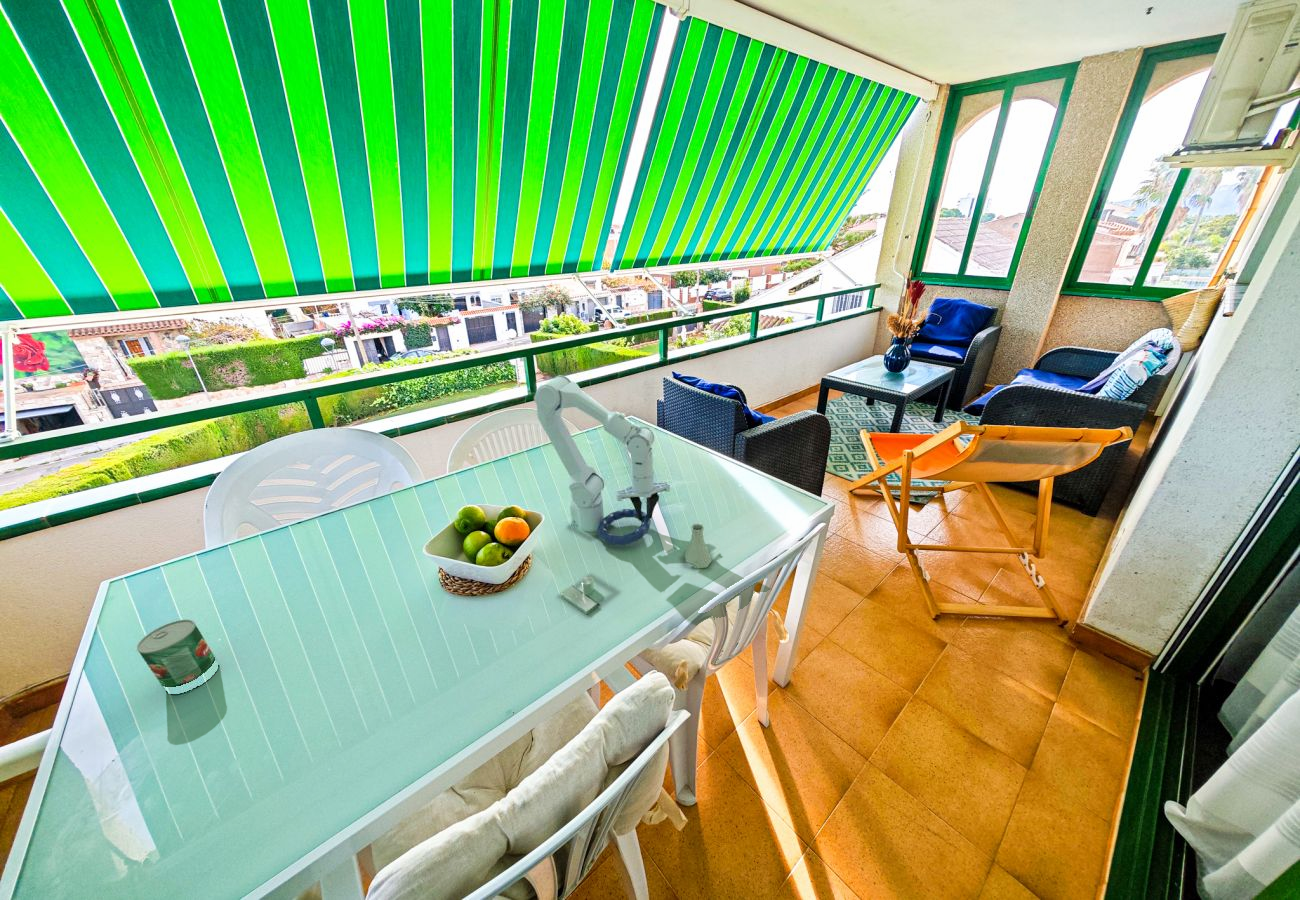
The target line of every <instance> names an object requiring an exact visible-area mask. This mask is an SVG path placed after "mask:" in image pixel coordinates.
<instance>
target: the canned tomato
mask: <svg viewBox="0 0 1300 900" xmlns="http://www.w3.org/2000/svg"><path fill="white" fill-rule="evenodd" d="M136 651H137V652H138V653H139V654H140V656H141V658H142V659H143V661H144V662H145V663H146V665H147V666H148V668H149V669H150V671H151V672H152V674H153V675H154V677H155V678H156V679H157V681H158V683H160V686H161V687H162V686H165V687H176V686H181V685H183V684H186V683H189V682H191V681H193V680H195V679H197V678H198V677H199V676H201V675H202V674H203V673H205V672H206V671H207V670H208V669H209V668H210V667H211V666H212V664H213V663H214V661H215V658H216V656H215V655H214V652H212V650H211V648H210V645H208V643H207V641H206V640H205V638H204V636H203V635H202V633H201V631H200V630H199V628H198V626H197V625H196V622H195V621H194V620H192V619H178V620H175V621H172V622H168V623H166V624H164V625H161V626H159V627H157V628H155V629H154V630H152V631H151V632H149V633H148V634H146V635H145V636H144V637H143V638H141V639H140V641H138V643H137V645H136ZM214 656H215V657H214ZM191 691H192V690H190V691H189V692H191Z"/></svg>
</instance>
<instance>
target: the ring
mask: <svg viewBox="0 0 1300 900" xmlns="http://www.w3.org/2000/svg"><path fill="white" fill-rule="evenodd" d="M641 513H642V521H640V526H639V527H638V528H637V529H636V530H634V531H632V532H630V533H627V534H623V535H622V534H621V535H613V534H611V533H609V532H608V531H607V529H608V528H609V526H610V525H611V524H613V523H614V522H615V521H619V520H621V519H627V518H629V519H630V518H634V519H636V520H639V519H638V518H637V513H636V510H635V508H622V509H619V510H616V511H613V512H610V513H609V514H607V515H606V516H604V518H603V519H602V520H601V522H600V524H599V526H598V528H597V531H596V532H597V534H598V537H599V539H600V541H602V542H604V543H606V544H608V545H611V546H626V545H629V544H632V543H635V542H638V541H640V540H641V539H642V538H643V537H644V536H645V535H647V534H648V533H649V531H650V528H651V524H652V520H651V519H649V517H648V515H647V512H645V511H643V510H641Z"/></svg>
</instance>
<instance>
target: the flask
mask: <svg viewBox="0 0 1300 900" xmlns="http://www.w3.org/2000/svg"><path fill="white" fill-rule="evenodd" d="M690 529H691V538H690V541H689V543H688V546H687V548H686V551H685V553H684V559H685V562H686V563H689V564H692V566H691V568H693V569H703V568H705V569H706V568H708V567H709V565H710V564H711V563H712V561H713V560H712V558H711V554H710V553H709V550H708V547H707V545H706V543H705V539H704V538H705V537H704V530H705V526H704V524H701V523H693V524H692V525H691V526H690Z"/></svg>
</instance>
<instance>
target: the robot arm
mask: <svg viewBox="0 0 1300 900" xmlns="http://www.w3.org/2000/svg"><path fill="white" fill-rule="evenodd" d="M533 400H534V402H535V405H536V413H537V419H538V421H539V423H540V425H541V427H542V428H543V430H544V432H545V434H546V436H547V437H548V439H549V441H550V443H551V444H552V446H553V449H554V450H555V452H556V453H557V455H558V458H559V459H560V461H561V463H562V465H563V466H564V469H565V470H566V472H567V473H568V476H569V478H568V479H569V480H568V488H569V491H570V494H571V501H570V505H569V512H570V518H571V523H572V524H574V525H575V526H577V527H578V528H579V529H580V530H581V531H583V532H586V533H594V532H597V528H598V526H599V524H600V522H601V520H602V519H603V518H605V514H604V513H605V511H604V501H603V496H602V491H603V490H604V488H605V480H604V478H603V477H602V476H601V475H600V474H599V473H598V472H597V471H596V469H595V468H594V467H592V466H590V465H588V464H587V462H586V460H585V459H584V456H583V455H582V453H581V451H580V449H579V448H578V445H577V444H576V441H575V440H574V438H573V436H572V434H571V432H570V431H569V428H568V427H567V425H566V423H565V421H564V419H563V418H562V416H561V415H562V412H563V410H564V409H569V408H576V409H578V410H580V411H581V412H583V413H584V414H586V415H587V416H589V417H591V418H593V419H594V420H596V421H598V422H599V423H601V424H602V427H603V428H602V429H603V431H604V432H607V433H608V434H609V435H610V436H612V437H613V438H615V439H616V440H618V441H619V442H621V444H624V445H625V447H626V450H627V452H628V454H630V470H631V471H630V472H631V473H630V474H631V475H630V476H631V486H628V487H627V488H624V489H620V490H617V491H615V498H616V501H617V502H622V501H623V500H626V499H629V500H630V502H631V503H632V506H633V507H634V508H633V509H635V510H636V513H637V518H638V519H637V518H636V519H637V520H638V522H641V521H642V513H641V511H642V505H643V502H642V500H641V498H643V499H645V500H646V514H647V515H648V517H649V519H650V520H651V519H653V514H654V510H655V508H656V505H657V504H658V502H659V501H660V496H659V494H658V493H662V492H667V493H669V492H671V484H670V483H669V482H668V481H663V482H655V481H654V458H653V447H652V446H653V444H654V442H655V434H654V432H653V431H652V430H651V429H650V428H649V427H648V426H642V425H639V424H636V423H634V422H633V421H631V420H630V419H629V418H627V417H626V414H625V413H623V412H618V411H609V410H608V409H607V408H606V407H604V406H603V405H602V404H601V403H599V402H598V401H596V400H595V399H594V398H593V397H591V396H590V395H589V394H587V393H586V392H585V391H583V390H582V389H581V387H580V386H579V384H578V383H577V382H576V381H573V380H571V379H570V378H569V377H568V376H565V375H561V374H560V375H556V376H555V377H553V378H552V379H551V380H549V381H548V382H546V383H544V384H542V385H540V386H539V387H538V388H537V389H536V392H535V394H534V396H533Z"/></svg>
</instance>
